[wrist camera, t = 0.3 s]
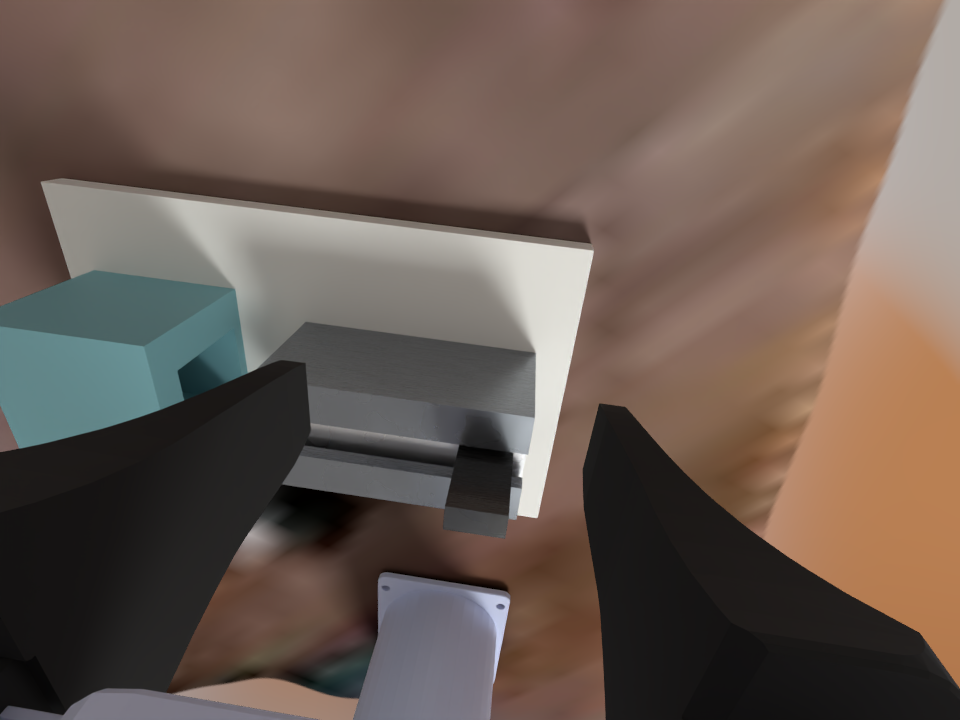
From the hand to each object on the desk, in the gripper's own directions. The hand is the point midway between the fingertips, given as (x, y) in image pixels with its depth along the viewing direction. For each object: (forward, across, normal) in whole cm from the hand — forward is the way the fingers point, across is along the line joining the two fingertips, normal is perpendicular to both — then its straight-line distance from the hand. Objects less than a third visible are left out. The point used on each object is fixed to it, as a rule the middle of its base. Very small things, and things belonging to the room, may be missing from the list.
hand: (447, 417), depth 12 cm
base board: (+10, +7, +5) cm, 13 cm away
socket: (+9, +14, +5) cm, 17 cm away
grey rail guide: (+9, +2, +5) cm, 10 cm away
